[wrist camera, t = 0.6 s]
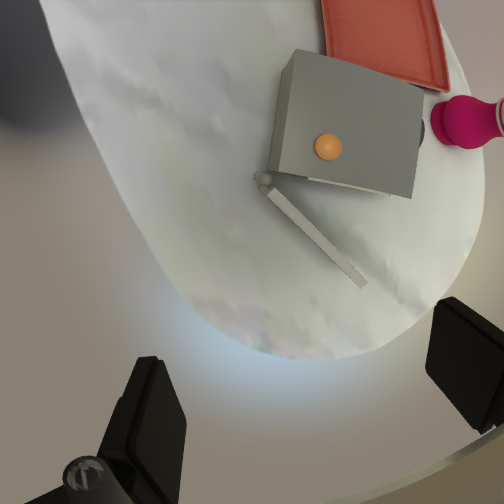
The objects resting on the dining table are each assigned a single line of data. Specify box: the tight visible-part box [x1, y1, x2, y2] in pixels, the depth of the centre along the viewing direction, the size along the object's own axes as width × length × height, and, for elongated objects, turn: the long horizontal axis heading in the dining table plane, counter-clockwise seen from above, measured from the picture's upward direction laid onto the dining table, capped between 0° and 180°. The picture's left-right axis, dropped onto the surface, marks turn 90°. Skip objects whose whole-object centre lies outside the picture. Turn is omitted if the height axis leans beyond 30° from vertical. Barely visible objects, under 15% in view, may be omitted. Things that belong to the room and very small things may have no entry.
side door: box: [254, 172, 368, 289], centre depth 32 cm, size 2×15×8 cm, turn 47°
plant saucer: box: [321, 0, 450, 93], centre depth 28 cm, size 18×18×3 cm
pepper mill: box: [431, 95, 504, 149], centre depth 24 cm, size 7×7×20 cm
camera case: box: [268, 49, 425, 199], centre depth 29 cm, size 12×15×9 cm
